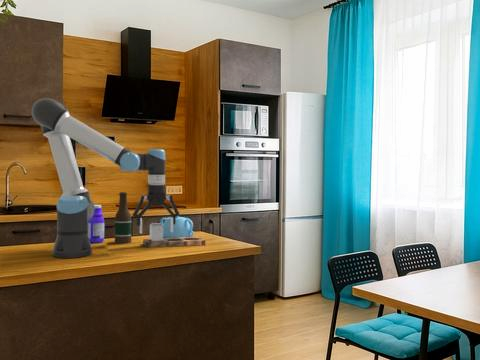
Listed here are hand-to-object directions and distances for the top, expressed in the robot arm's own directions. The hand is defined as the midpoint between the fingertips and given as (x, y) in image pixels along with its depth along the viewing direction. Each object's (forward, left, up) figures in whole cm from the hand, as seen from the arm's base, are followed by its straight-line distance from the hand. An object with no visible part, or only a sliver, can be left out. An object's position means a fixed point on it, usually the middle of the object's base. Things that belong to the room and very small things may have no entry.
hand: (156, 232), depth 213 cm
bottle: (-24, +23, -7) cm, 34 cm away
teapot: (+15, +22, -7) cm, 28 cm away
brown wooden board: (+8, 0, -7) cm, 10 cm away
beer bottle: (-13, +12, -7) cm, 19 cm away
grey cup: (0, 0, -6) cm, 6 cm away
